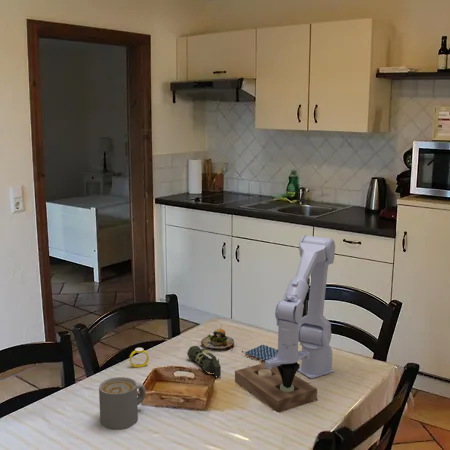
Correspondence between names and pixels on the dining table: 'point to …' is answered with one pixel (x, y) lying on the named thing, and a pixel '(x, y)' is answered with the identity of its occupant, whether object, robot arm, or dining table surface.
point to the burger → (218, 340)
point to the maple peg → (264, 373)
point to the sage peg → (286, 388)
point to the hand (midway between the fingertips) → (287, 386)
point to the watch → (139, 350)
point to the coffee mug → (119, 402)
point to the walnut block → (275, 388)
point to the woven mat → (262, 353)
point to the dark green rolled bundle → (205, 360)
